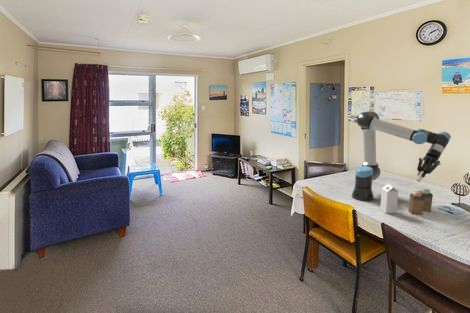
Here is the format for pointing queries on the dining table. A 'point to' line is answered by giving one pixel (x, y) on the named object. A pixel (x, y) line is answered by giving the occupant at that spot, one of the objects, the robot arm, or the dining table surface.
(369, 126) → the robot arm
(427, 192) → the sage button
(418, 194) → the terracotta button
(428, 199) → the rear pedestal
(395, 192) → the milk carton
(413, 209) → the front pedestal
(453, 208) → the dining table surface
